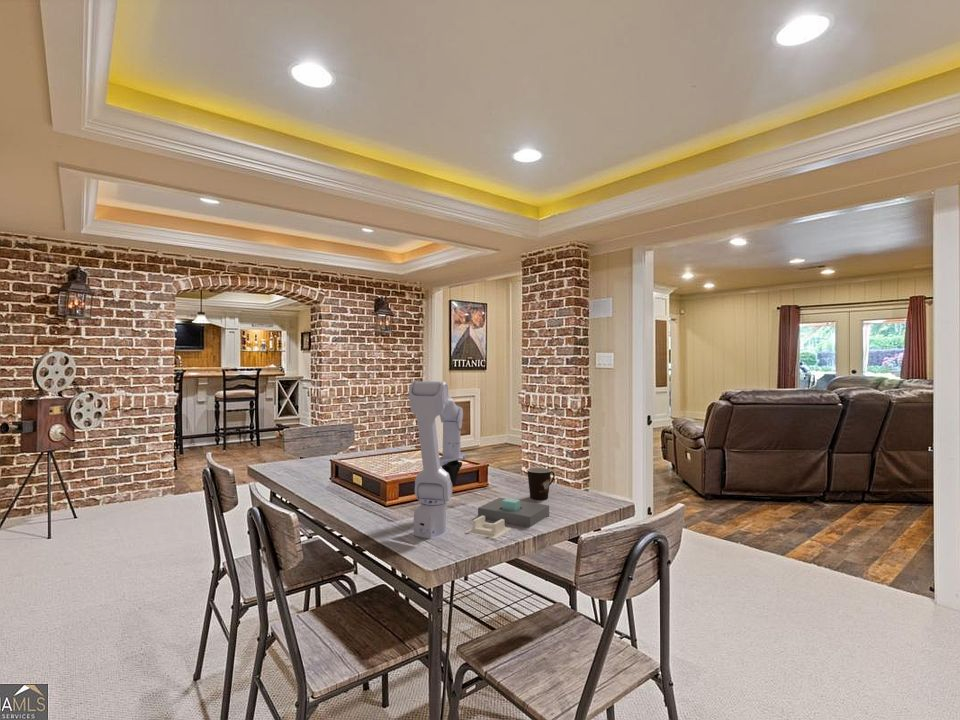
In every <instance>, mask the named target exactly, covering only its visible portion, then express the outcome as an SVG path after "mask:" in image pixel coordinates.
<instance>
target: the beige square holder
mask: <svg viewBox="0 0 960 720" xmlns="http://www.w3.org/2000/svg"><path fill="white" fill-rule="evenodd" d="M505 525H506V523H505V520H504V519H501V520H499V521H494V522H492V523H491V522H487V521H486V519H485V516H480V517H478V516H477V517H476V518H475V519H472V527H471V528H470V529H468V530H466V531H464V533H466V534H470V535H475V536H481V537H485V538H490V539H497V538H499V537H500V536H502V535H504V534H505V533H507V532H509V531H510V530H512V528H511V527H506V526H505Z"/></svg>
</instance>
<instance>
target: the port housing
mask: <svg viewBox="0 0 960 720" xmlns="http://www.w3.org/2000/svg"><path fill="white" fill-rule="evenodd" d="M505 499H506V498H503V497H498V498H496V499H494V500H491V501H489V502H488V503H485V504H483V505H481V506H479V507H478V508H477V518H478V517H480V516H485V520H489V521H494V522H497V521H499V520H501V519H504V520H505V524H510V525H517V526H522V527H525V528H526V527H527V528H531V527H533V526H534V525H536V524H537V523H539V522H541V521H542V520H544V519H545V518H546V519H548V518H549V517H550V505H547V504H542V503H536V502H528V501H523V500H520V510H518V511H516V512H515V511H509V510H503V509H502V501H503V500H505ZM547 517H548V518H547Z"/></svg>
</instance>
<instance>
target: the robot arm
mask: <svg viewBox="0 0 960 720" xmlns="http://www.w3.org/2000/svg"><path fill="white" fill-rule="evenodd" d="M448 385H449V384H448V383H447V382H446V381H445V380H442V381H429V380H428V381H421V380H420V381H418V380H414V381H412V382H411V384H410V386H409V389H408V390H409V391H408V400H409V408H410V412H411V414H413V415H415V416H416V420H417V421H416V422H417V429H418V436H419V437H418V438H419V444H420V452H421V461H422V470H420V471H419V472H418V473H417V474H416V476H415V479H414V496H415V498H416V499H417V500H418V503H419V504H420V505H419V506H418V507H417V508H415V510H414V512H413V532H412V533H410V535H411V536H415V537H420V538H425V539H430V540H435V539H438V538H439V537H441V536H444V535H445V534H446V535H447V533H450V532H452V531H453V529H452V528H447V502H449V501H450V500H451V499H452V496H453V486H455V485H456V483H457V478H458V475H459V472H460V470H461V468H462V466H463V462H462V461H461V460H467V453H466V452H461V434H462V433H461V432H462V431H461V429H462V427H463V417H464V409H463V407H461V406H460V405H457V403H455V401H454V400H453V398H452V397H451V396H450V395H449V386H448ZM438 416H439V418H440V423H442V456H440V451H439V443H438V433H437V425H436V424H437V423H436V418H437V417H438Z"/></svg>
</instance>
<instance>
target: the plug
mask: <svg viewBox="0 0 960 720" xmlns="http://www.w3.org/2000/svg"><path fill="white" fill-rule="evenodd" d="M520 501H521V499H514V498H508V497H507V498H505V500H503V501H502V509H503V510H509V511H515V512H516V511H518V510H520Z"/></svg>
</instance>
